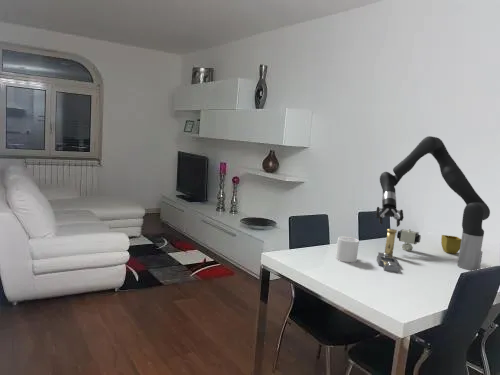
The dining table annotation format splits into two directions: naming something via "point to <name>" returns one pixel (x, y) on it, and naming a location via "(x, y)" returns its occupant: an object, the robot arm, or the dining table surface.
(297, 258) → the dining table surface
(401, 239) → the pneumatic valve
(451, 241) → the flower pot
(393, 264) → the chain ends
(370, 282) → the dining table surface
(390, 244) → the brass pin
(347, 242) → the mug
